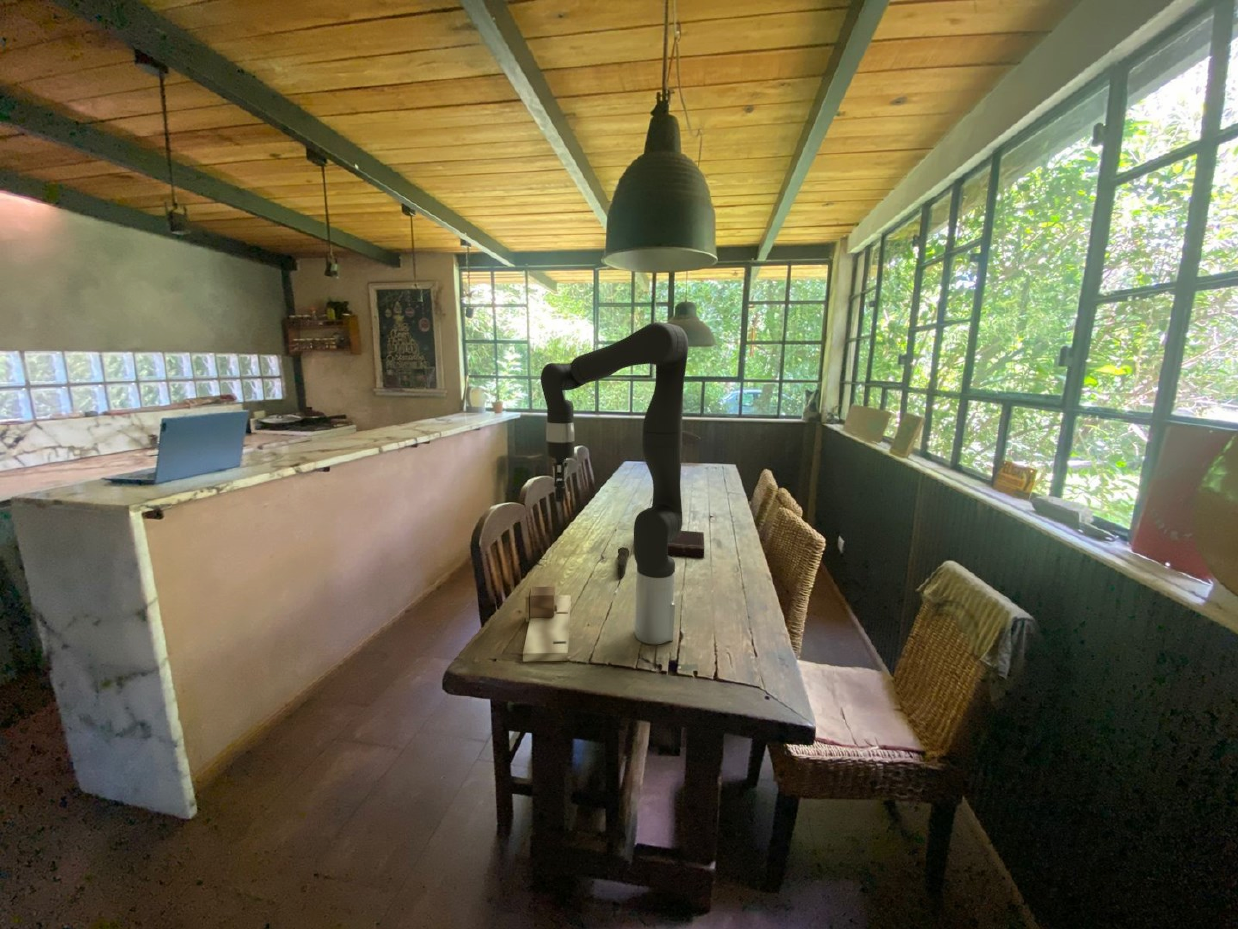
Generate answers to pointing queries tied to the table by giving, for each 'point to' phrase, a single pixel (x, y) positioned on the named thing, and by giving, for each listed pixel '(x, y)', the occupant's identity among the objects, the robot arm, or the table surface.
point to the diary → (687, 545)
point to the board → (549, 634)
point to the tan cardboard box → (540, 602)
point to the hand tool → (622, 561)
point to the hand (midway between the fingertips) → (560, 497)
